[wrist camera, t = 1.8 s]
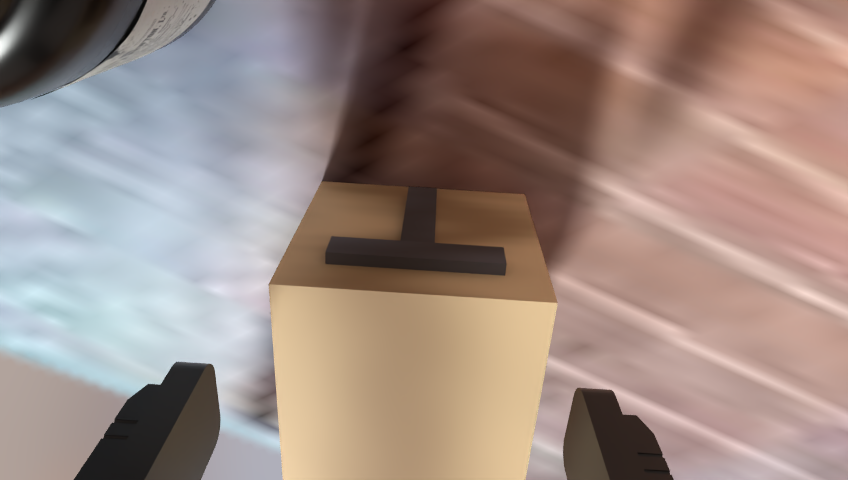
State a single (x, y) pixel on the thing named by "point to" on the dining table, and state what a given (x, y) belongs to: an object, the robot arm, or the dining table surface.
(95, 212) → the dining table surface
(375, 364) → the lettered block
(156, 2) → the ink bottle
